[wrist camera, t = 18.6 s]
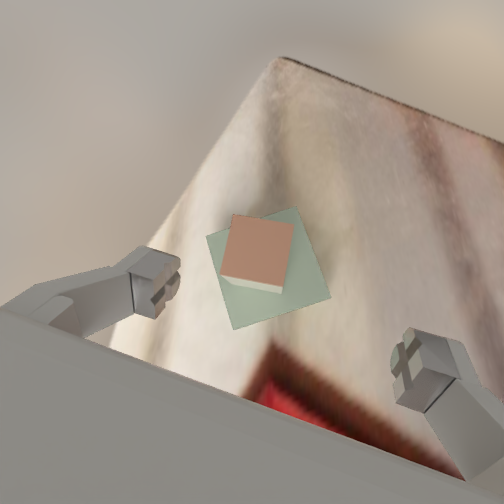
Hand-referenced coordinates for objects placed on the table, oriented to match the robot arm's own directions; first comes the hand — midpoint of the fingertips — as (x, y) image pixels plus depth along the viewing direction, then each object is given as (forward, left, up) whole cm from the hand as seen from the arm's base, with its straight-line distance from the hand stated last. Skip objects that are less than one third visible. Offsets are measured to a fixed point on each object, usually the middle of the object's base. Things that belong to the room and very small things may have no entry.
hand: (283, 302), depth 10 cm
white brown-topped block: (+2, +6, -24) cm, 25 cm away
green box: (+2, +5, -30) cm, 31 cm away
